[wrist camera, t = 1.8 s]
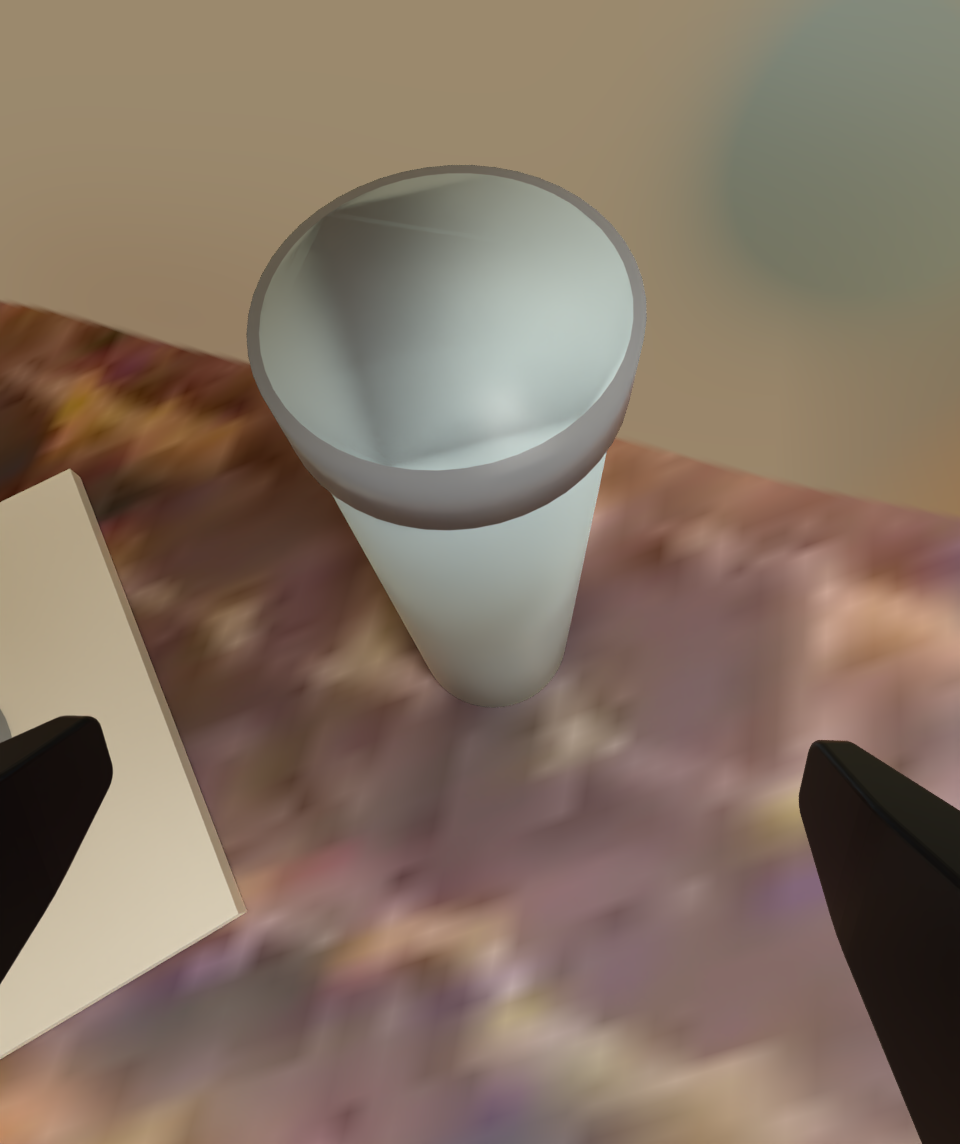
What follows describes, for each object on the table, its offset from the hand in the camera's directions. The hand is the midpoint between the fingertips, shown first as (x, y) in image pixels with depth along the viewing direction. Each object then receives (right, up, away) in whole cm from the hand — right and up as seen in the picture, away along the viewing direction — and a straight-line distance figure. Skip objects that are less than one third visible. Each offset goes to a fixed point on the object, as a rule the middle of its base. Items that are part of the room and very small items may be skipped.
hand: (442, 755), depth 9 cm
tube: (+1, 0, +13) cm, 13 cm away
